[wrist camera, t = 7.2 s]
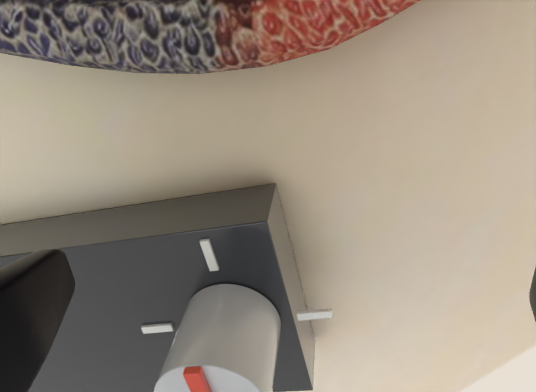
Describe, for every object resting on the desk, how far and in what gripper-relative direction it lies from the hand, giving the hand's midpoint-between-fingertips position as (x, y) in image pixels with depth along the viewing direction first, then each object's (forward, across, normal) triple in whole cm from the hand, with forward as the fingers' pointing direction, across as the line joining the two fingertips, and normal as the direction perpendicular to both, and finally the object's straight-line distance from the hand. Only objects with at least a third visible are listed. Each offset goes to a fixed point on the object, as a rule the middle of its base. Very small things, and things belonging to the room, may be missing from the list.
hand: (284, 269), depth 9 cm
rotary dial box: (+10, +9, +9) cm, 16 cm away
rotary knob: (+7, +3, +8) cm, 11 cm away
